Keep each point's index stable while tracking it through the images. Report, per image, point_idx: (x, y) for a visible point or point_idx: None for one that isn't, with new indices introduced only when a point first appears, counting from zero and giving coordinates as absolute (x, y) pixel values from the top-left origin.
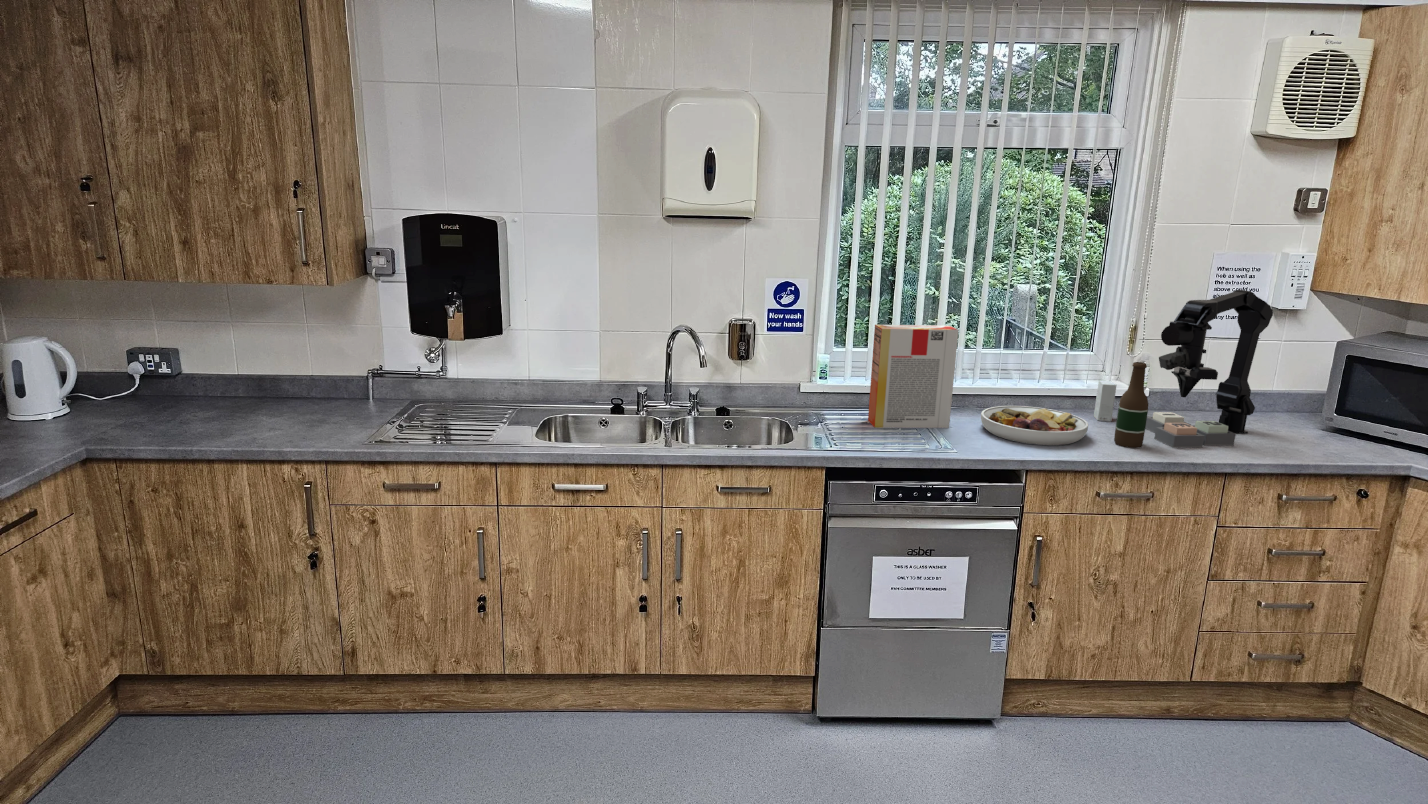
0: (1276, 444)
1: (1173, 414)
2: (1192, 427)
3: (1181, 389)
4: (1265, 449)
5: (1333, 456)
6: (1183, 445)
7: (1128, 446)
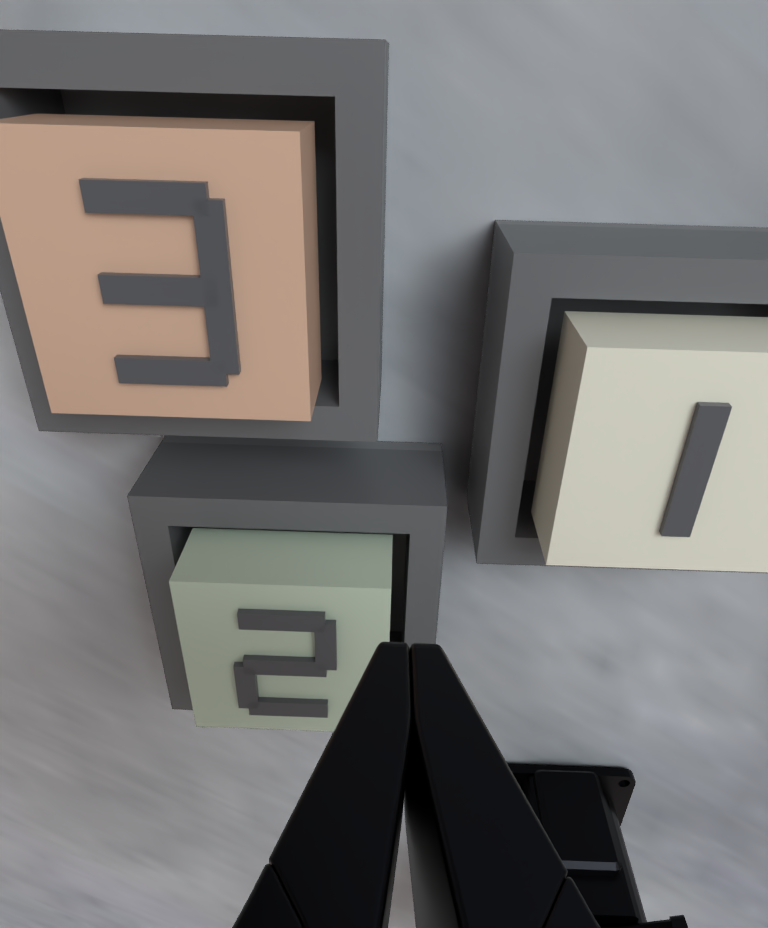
0: (256, 837)
1: (665, 518)
2: (77, 377)
3: (427, 779)
4: (137, 743)
5: (64, 910)
6: None
7: None
